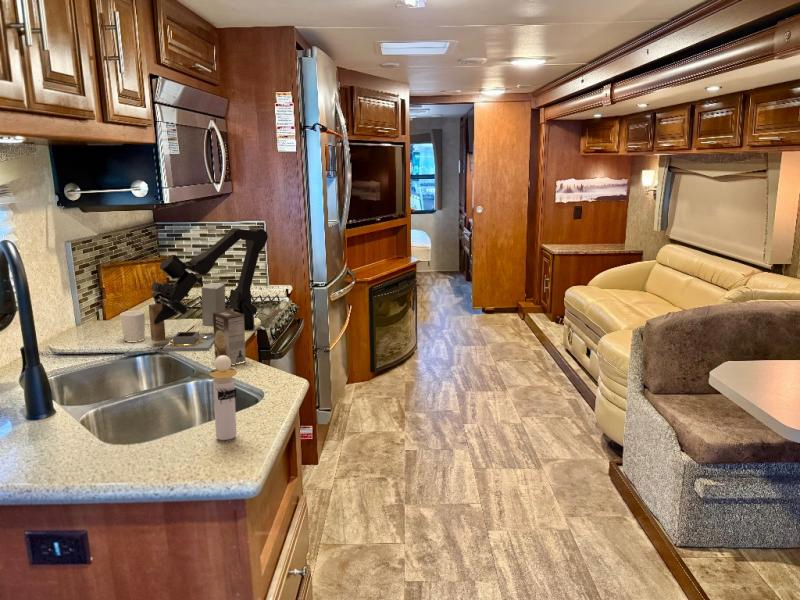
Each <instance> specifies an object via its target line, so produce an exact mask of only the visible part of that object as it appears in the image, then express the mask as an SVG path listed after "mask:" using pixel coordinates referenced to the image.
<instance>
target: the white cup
mask: <svg viewBox="0 0 800 600" xmlns="http://www.w3.org/2000/svg"><path fill="white" fill-rule="evenodd" d="M119 315H120V322H121V330H122V334H123V341H124V340H125V341H139V340H142V339H144V338H145V335H146V333H145V332H146V322H145V321H146V317H145V311H143V310H129V311H128V310H127V311H123V312H121V313H120V314H119ZM145 339H146V338H145ZM145 339H144V340H145ZM125 341H124V342H125Z"/></svg>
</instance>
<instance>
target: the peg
mask: <svg viewBox="0 0 800 600" xmlns="http://www.w3.org/2000/svg"><path fill="white" fill-rule="evenodd" d="M161 310H162V304H159V303H158V304H155V303H151V304H148V313H149V315H148V316H149V326H150V340H151V341H153V342H161V341H166V329H165V327H166V326H165V320H164V321H162V322H160V323H158V324H155V323H154V321H155V319H156V318H157V316H158V315H159V313H160V312H161Z"/></svg>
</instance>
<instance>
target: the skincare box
mask: <svg viewBox="0 0 800 600" xmlns="http://www.w3.org/2000/svg"><path fill="white" fill-rule="evenodd" d="M201 309H202V310H201V311H202V312H201V313H202V314H201V315H202V316H201V318H202V319H201V321H202V323H201V324H202V326H209V327H213V313H214V312H219V311H225V310H226V283H225V284H224V283H216V282H210V283H207V284H205V285H204V286H203V285H202V287H201Z"/></svg>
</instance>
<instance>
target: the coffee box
mask: <svg viewBox="0 0 800 600" xmlns="http://www.w3.org/2000/svg"><path fill="white" fill-rule="evenodd" d="M212 327H213V333H214V343H213V345H214V361H215V360H216V358H217V357H218V356H221V355H225V356H228V357H229V358H230V360H231V365H232V364H236V363H239V362H243V361H246V336H245V335H246V334H245V331H246V330H245V328H244V314H241V313H238V312H235V311H234V310H232V309H225V311H219V312H214V313H213V326H212ZM246 362H247V361H246Z"/></svg>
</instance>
